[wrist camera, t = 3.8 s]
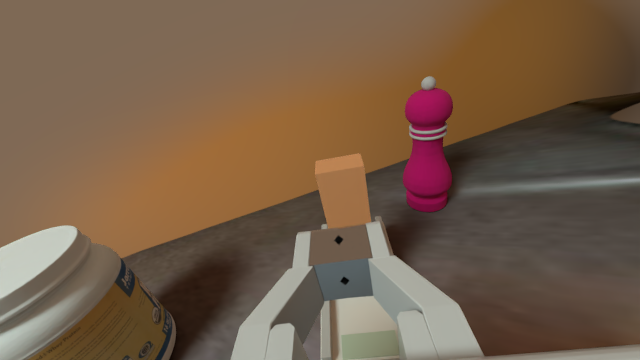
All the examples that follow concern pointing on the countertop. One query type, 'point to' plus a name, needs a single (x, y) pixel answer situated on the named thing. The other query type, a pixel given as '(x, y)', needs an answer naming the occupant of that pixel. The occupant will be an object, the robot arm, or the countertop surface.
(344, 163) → the lever
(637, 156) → the countertop surface
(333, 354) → the white base plate
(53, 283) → the supplement tub
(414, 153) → the pepper mill
